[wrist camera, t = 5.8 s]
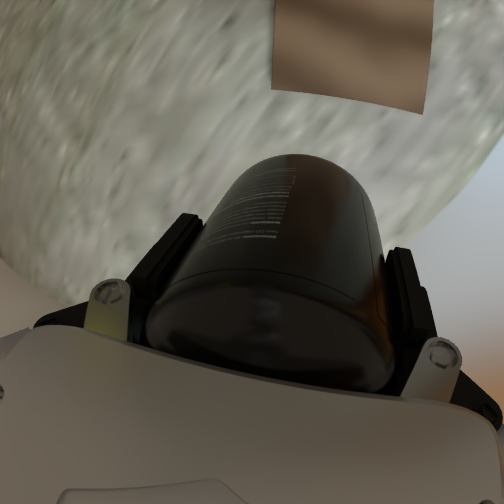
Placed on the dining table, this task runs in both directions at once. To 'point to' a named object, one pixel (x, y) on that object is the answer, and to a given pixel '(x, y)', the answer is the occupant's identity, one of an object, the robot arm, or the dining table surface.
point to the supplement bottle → (285, 283)
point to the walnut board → (355, 50)
